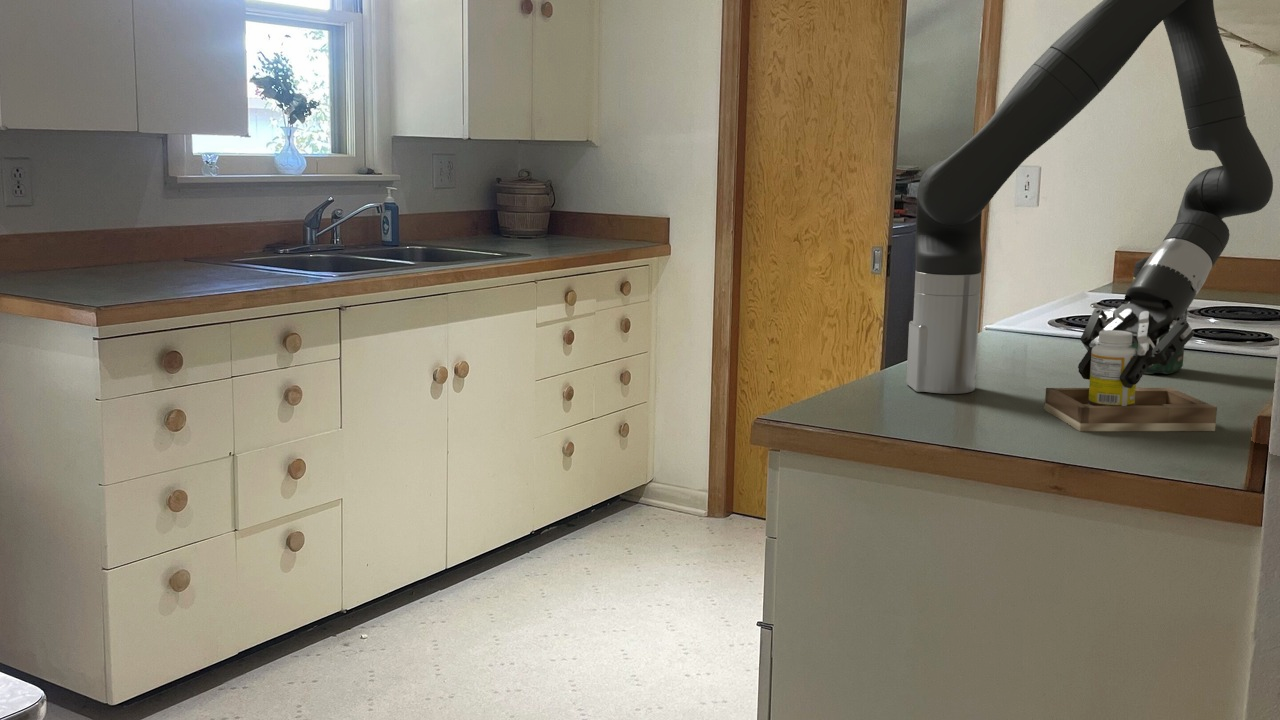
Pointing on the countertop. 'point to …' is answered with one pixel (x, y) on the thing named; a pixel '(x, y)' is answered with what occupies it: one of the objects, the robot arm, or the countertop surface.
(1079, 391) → the shallow wooden tray
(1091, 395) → the supplement bottle
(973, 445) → the countertop surface
